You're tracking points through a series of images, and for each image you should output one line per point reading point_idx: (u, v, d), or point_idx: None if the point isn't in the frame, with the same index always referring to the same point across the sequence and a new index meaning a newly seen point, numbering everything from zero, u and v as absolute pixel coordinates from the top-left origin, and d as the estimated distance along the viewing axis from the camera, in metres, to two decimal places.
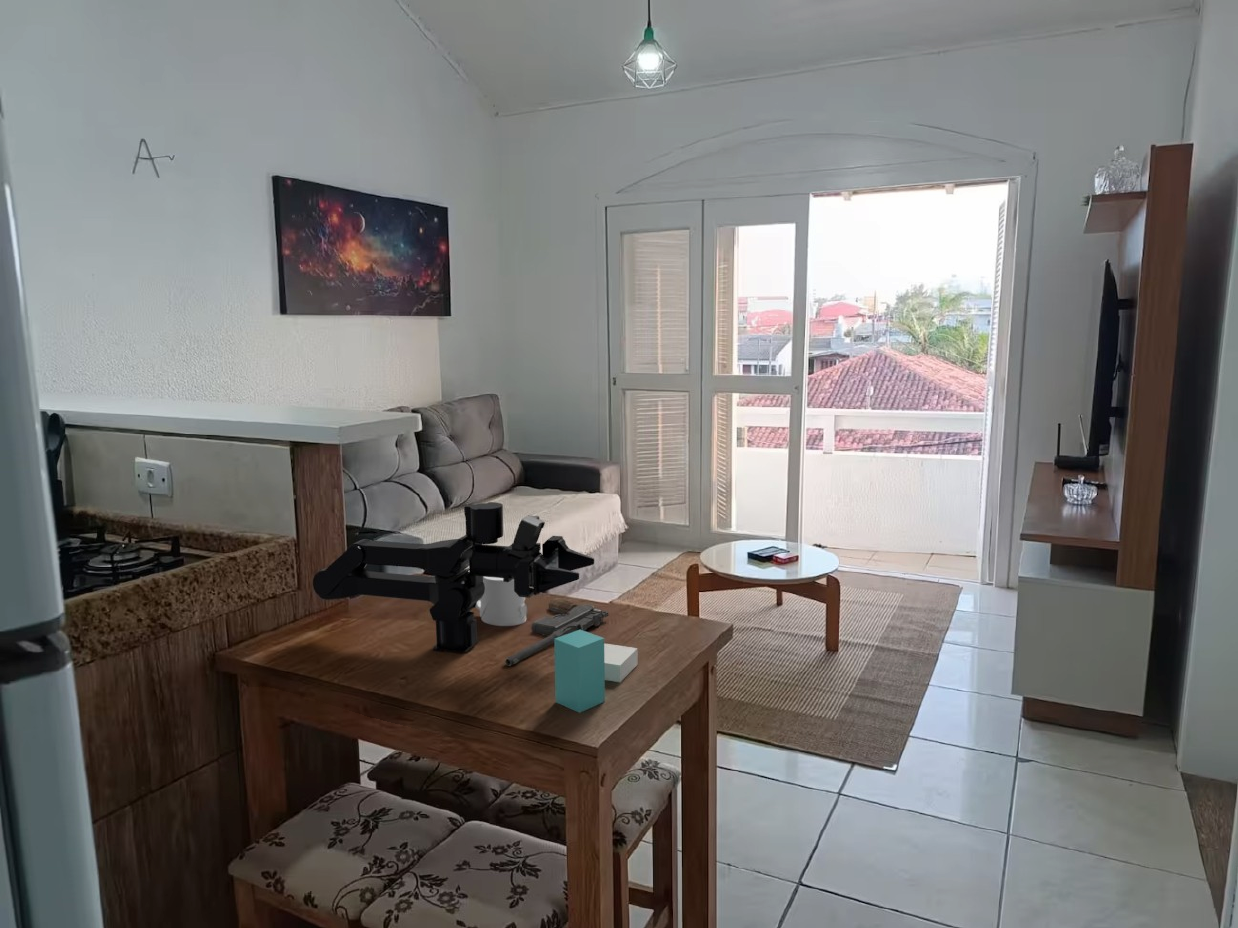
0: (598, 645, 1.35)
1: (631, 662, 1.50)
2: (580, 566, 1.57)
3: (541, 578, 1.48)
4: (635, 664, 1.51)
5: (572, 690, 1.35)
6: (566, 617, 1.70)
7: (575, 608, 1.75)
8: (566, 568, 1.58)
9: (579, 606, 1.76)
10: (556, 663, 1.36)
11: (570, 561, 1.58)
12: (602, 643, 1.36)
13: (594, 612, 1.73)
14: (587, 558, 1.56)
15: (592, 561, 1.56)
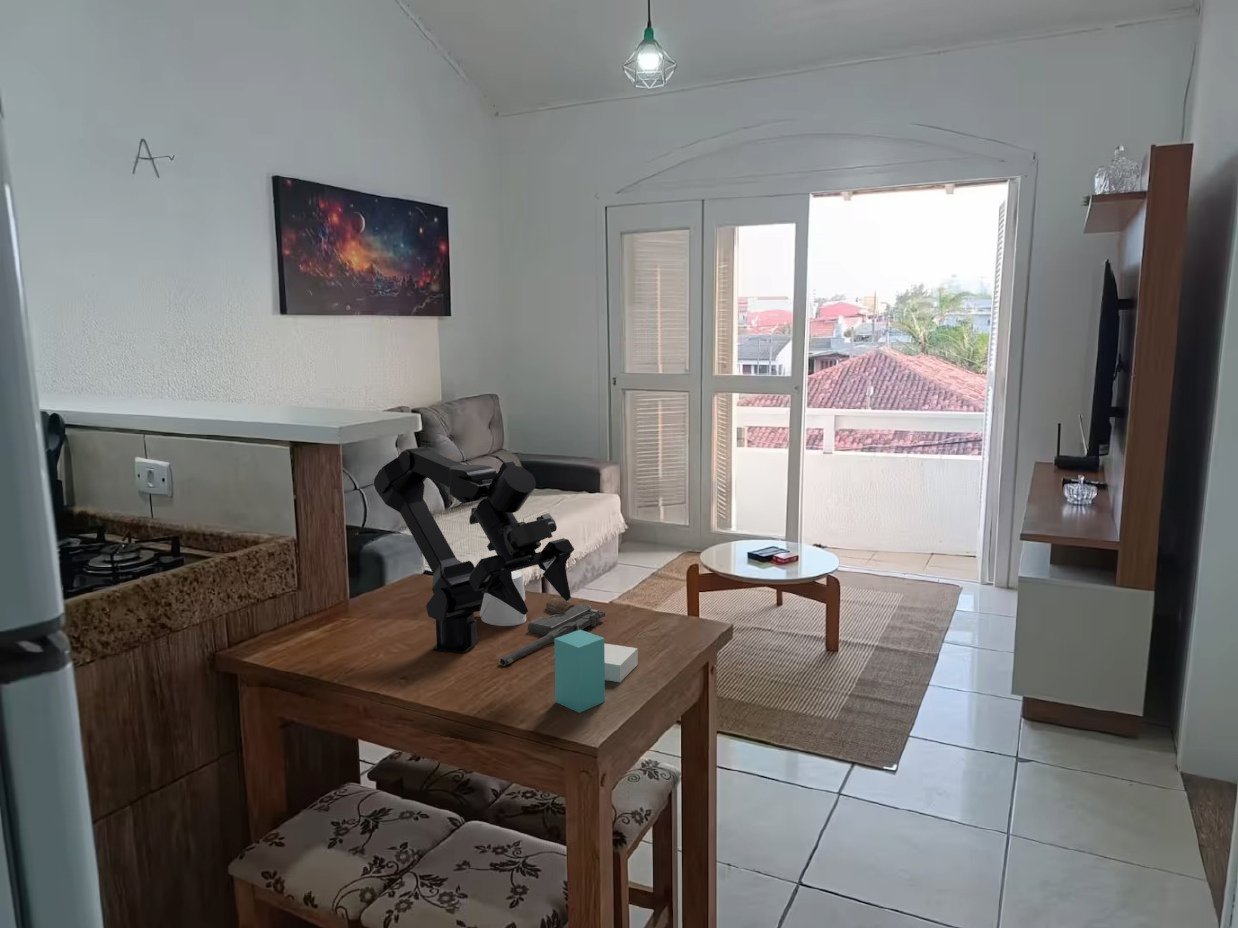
0: (598, 645, 1.35)
1: (631, 662, 1.50)
2: (557, 590, 1.46)
3: (499, 584, 1.39)
4: (635, 664, 1.51)
5: (572, 690, 1.35)
6: (562, 617, 1.70)
7: (572, 608, 1.75)
8: (549, 578, 1.48)
9: (576, 606, 1.76)
10: (556, 663, 1.36)
11: (555, 578, 1.46)
12: (602, 643, 1.36)
13: (591, 612, 1.72)
14: (565, 592, 1.44)
15: (568, 598, 1.44)
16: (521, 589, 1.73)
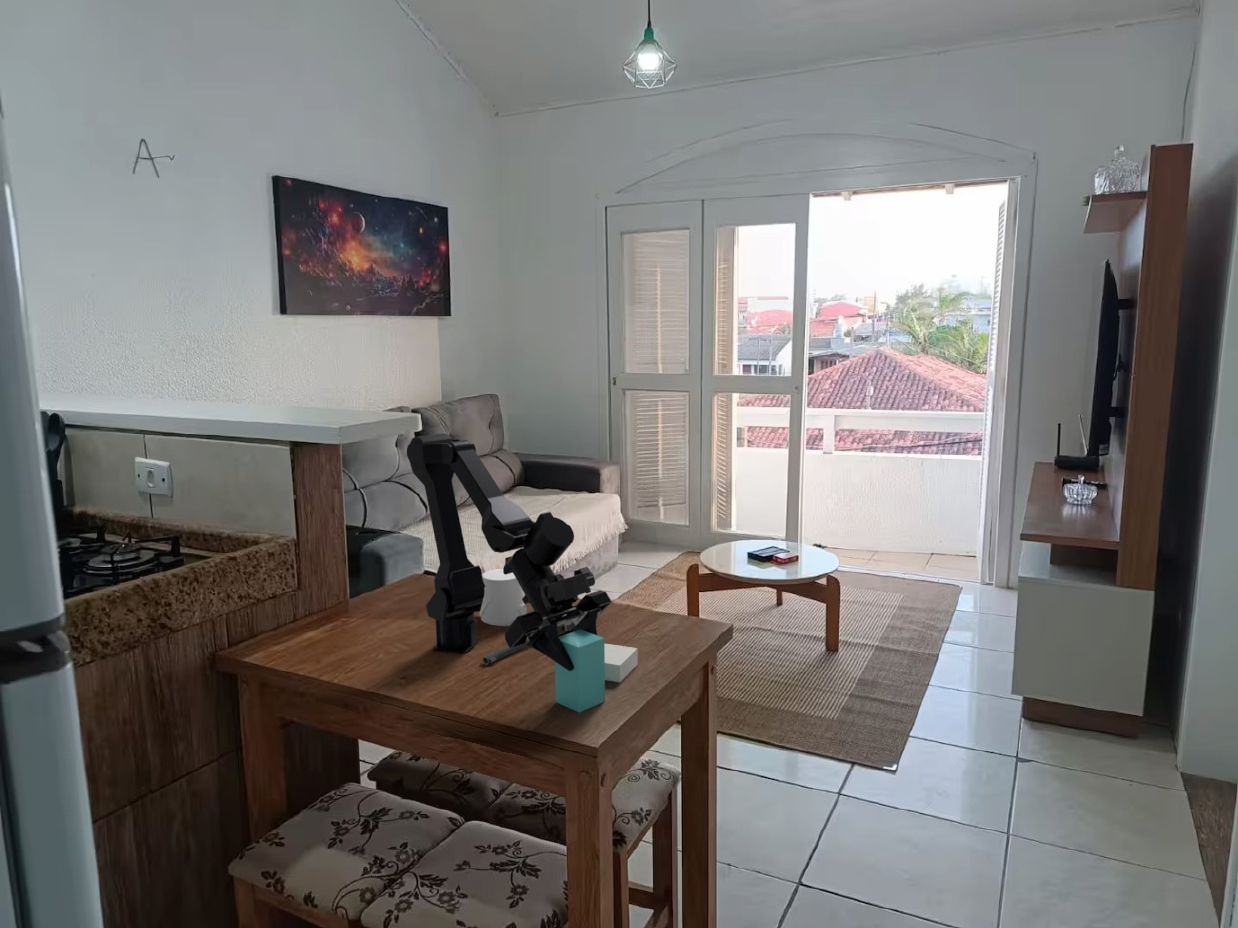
0: (598, 645, 1.35)
1: (631, 662, 1.50)
2: None
3: (544, 638, 1.35)
4: (635, 664, 1.51)
5: (572, 690, 1.35)
6: None
7: None
8: None
9: None
10: (556, 663, 1.36)
11: None
12: (602, 643, 1.36)
13: None
14: None
15: None
16: (521, 589, 1.73)
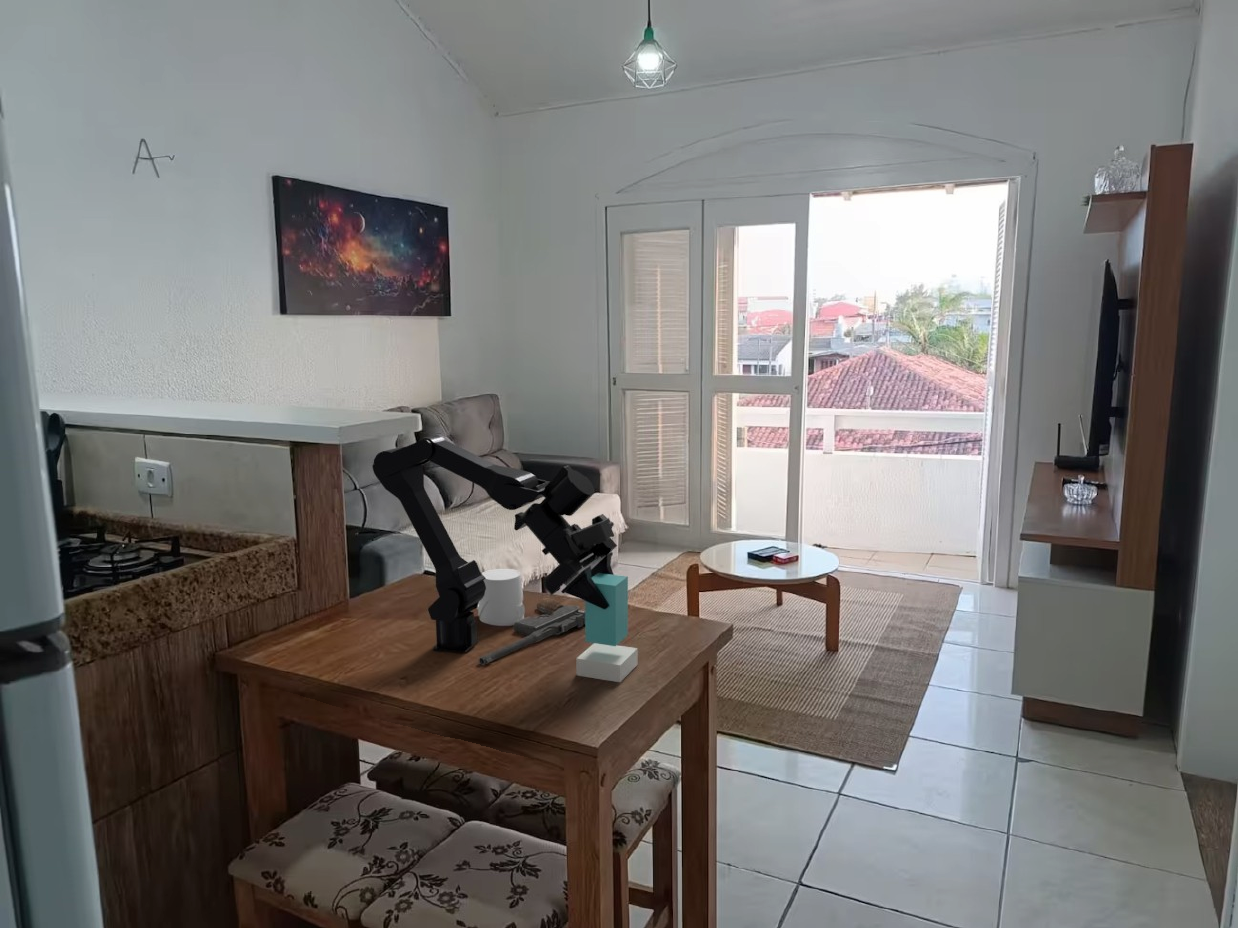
0: (625, 583, 1.48)
1: (631, 662, 1.50)
2: None
3: (577, 582, 1.45)
4: (635, 664, 1.51)
5: (606, 626, 1.46)
6: (549, 617, 1.70)
7: (560, 609, 1.74)
8: None
9: (565, 607, 1.75)
10: (587, 605, 1.46)
11: None
12: (626, 581, 1.49)
13: (578, 613, 1.72)
14: None
15: None
16: (519, 589, 1.73)
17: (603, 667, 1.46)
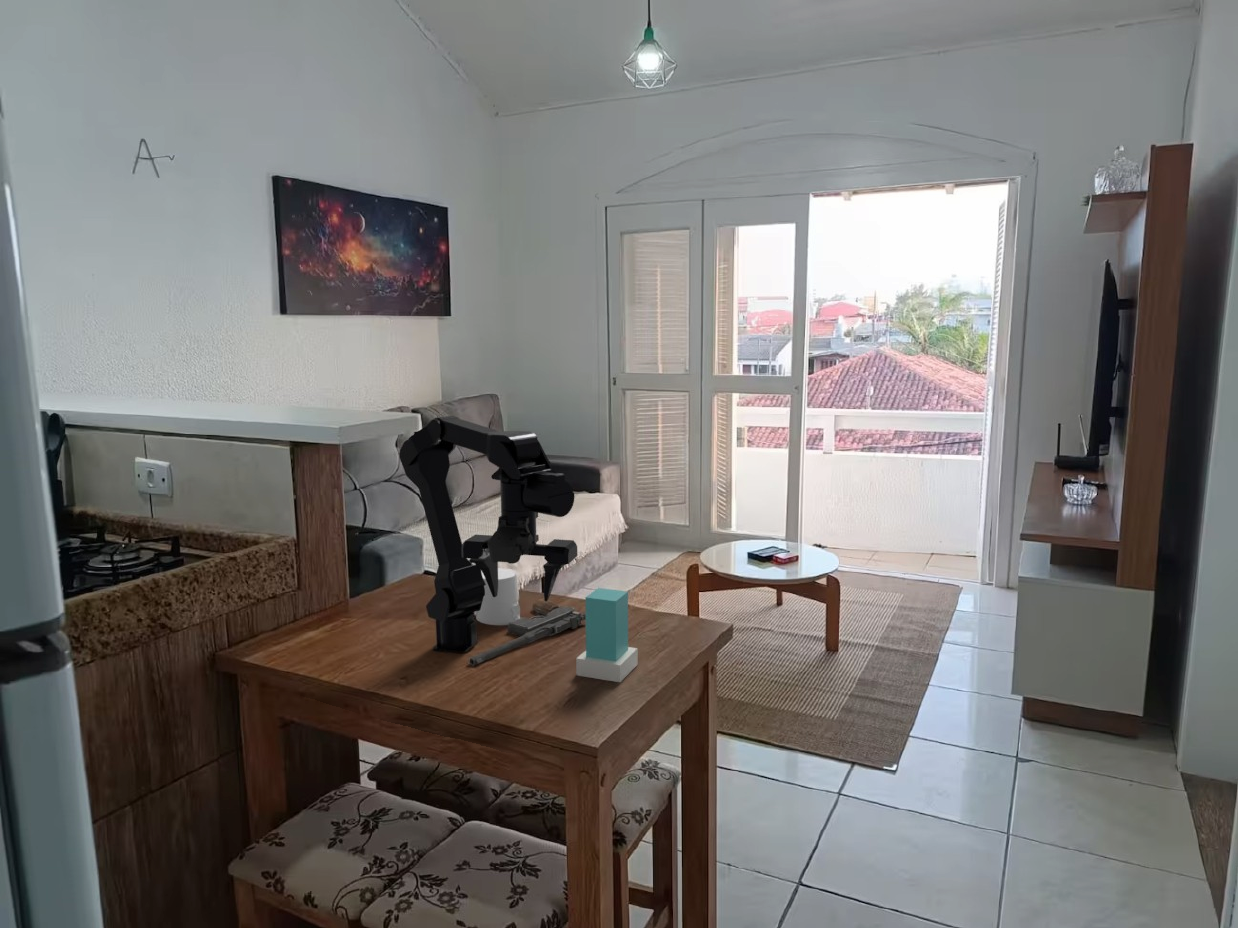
0: (625, 598, 1.48)
1: (631, 662, 1.50)
2: None
3: None
4: (635, 664, 1.51)
5: (607, 642, 1.46)
6: (543, 618, 1.69)
7: (555, 610, 1.74)
8: None
9: (560, 608, 1.75)
10: (587, 620, 1.47)
11: None
12: (627, 596, 1.49)
13: (572, 614, 1.71)
14: (544, 594, 1.46)
15: None
16: (514, 589, 1.73)
17: (603, 667, 1.46)
